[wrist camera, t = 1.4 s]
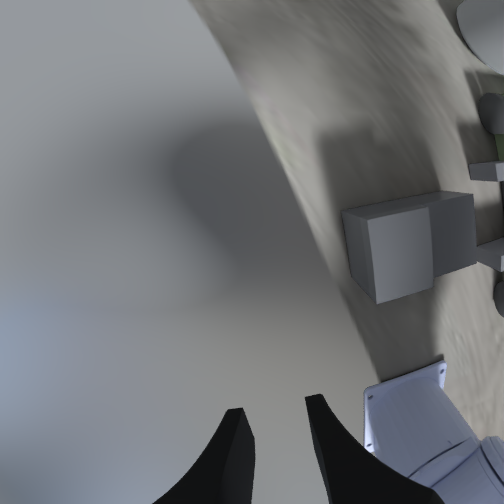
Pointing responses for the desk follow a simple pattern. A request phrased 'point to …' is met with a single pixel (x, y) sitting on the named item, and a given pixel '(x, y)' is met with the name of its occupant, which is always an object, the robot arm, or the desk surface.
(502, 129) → the deck
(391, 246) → the grey rectangular box
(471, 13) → the can
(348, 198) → the desk surface
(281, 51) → the desk surface
